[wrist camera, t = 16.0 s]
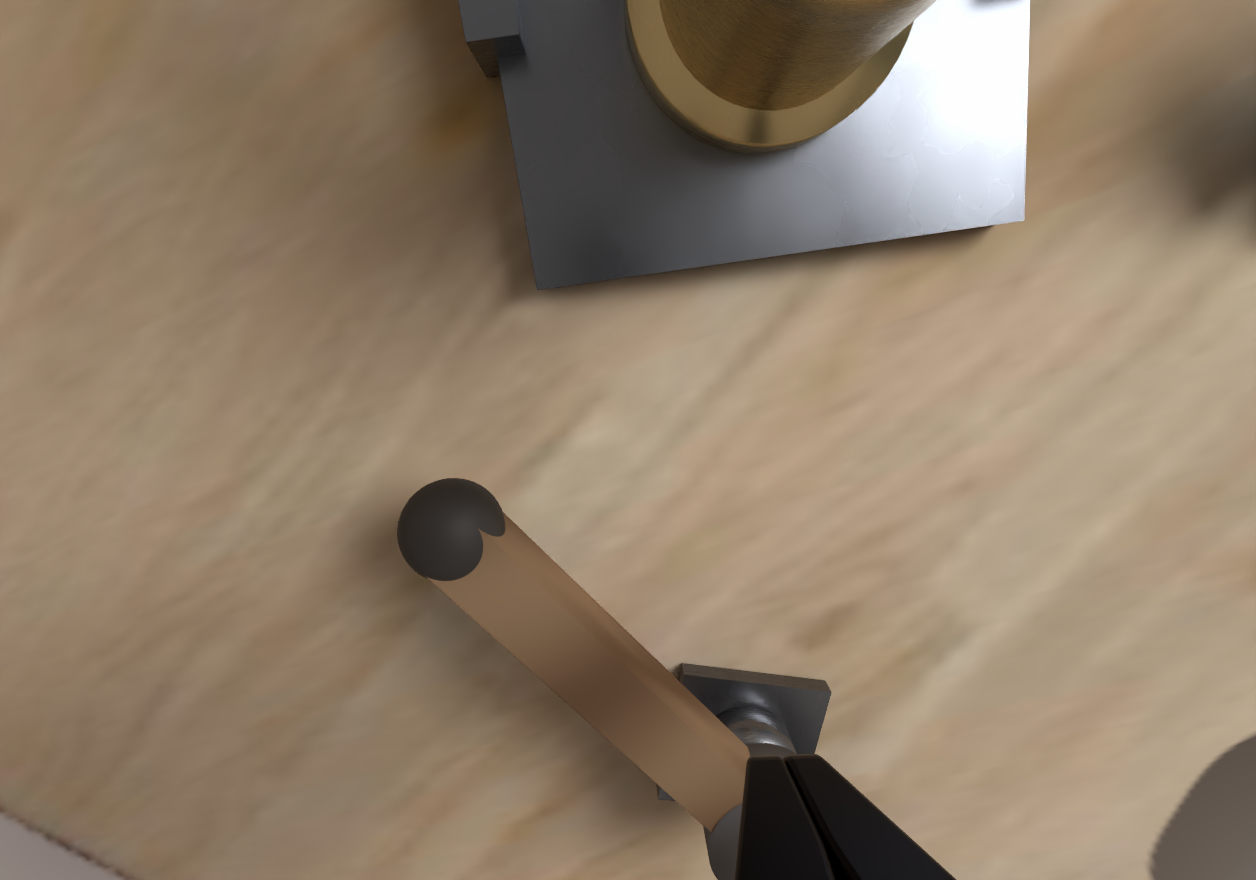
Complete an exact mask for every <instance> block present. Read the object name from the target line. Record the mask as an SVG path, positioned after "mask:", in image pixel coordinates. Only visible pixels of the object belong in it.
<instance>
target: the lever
mask: <svg viewBox="0 0 1256 880" xmlns="http://www.w3.org/2000/svg"><path fill="white" fill-rule="evenodd" d="M397 537H398V544H399V547H400V550H401V553H402V555H403V557H404V559H405V560H406V562H407V563H408V564H409V566H410V567H411V568H412V569H413V570H414V571H416V572H417V573H418V574H420V575H421V576H423V577H425V578H427V579H429V580H430V581H431V582H432V583H433V584H435V585H436V586H437V587H438V588H439V589H440V590H441V591H442V592H443V593H445V594H446V595H447V596H448V597H449V598H450V599H451V600H452V601H453V602H455V603H456V604H457V605H458V606H459V607H460V608H461V609H462V610H464V611H465V612H466V613H467V614H468V615H469V616H470V617H471V618H472V619H474V620H475V621H476V622H477V623H478V624H479V625H480V626H481V627H482V628H484V629H485V630H486V631H487V632H488V633H489V634H490V635H491V636H493V637H494V638H495V639H496V640H497V641H498V642H499V643H500V644H501V645H503V646H504V647H505V648H506V649H507V650H508V651H509V652H510V653H511V654H513V655H514V656H515V657H516V658H517V659H518V660H519V661H520V662H522V663H523V664H524V665H525V666H526V667H527V668H528V669H529V670H530V671H532V672H533V673H534V674H535V675H536V676H537V677H538V678H539V679H540V680H542V681H543V682H544V683H545V684H546V685H547V686H548V687H549V688H551V689H552V690H553V691H554V692H555V693H556V694H557V695H558V696H559V697H561V698H562V699H563V700H564V701H565V702H566V703H567V704H568V705H569V706H571V707H572V708H573V709H574V710H575V711H576V712H577V713H578V714H580V715H581V716H582V717H583V718H584V719H585V720H586V721H587V722H588V723H590V724H591V725H592V726H593V727H594V728H595V729H596V730H597V731H599V732H600V733H601V734H602V735H603V736H604V737H605V738H606V739H607V740H609V741H610V742H611V743H612V744H613V745H614V746H615V747H616V748H617V749H619V750H620V751H621V752H622V753H623V754H624V755H625V756H626V757H628V758H629V759H630V760H631V761H632V762H633V763H634V764H635V765H636V766H638V767H639V768H640V769H641V770H642V771H643V772H644V773H645V774H646V775H648V776H649V777H650V778H651V779H652V780H653V781H654V782H655V783H657V784H658V785H659V786H660V787H661V788H662V789H663V790H664V791H665V792H667V793H668V794H669V795H670V796H671V797H672V798H673V799H674V800H675V801H677V802H678V803H679V804H680V805H681V806H682V807H683V808H684V809H686V810H687V811H688V812H689V813H690V814H691V815H692V816H693V817H694V818H696V819H697V820H698V821H699V822H700V823H701V824H702V825H703V827H704V833H705V839H706V844H707V850H708V855H709V861H710V865H711V868H712V871H713V873H714V875H715V876H716V878H717V879H718V880H734V876H735V867H736V857H737V848H738V838H739V829H740V820H741V810H742V801H743V791H744V782H745V773H746V764H747V760H748V758H749V757H751V756H768V755H778V756H780V757H781V758H784V757H785V756H787V755H795V754H796V753H794V752H793V751H791V750H789V749H787V748H785V747H782V746H779V745H775V744H768V743H754V744H747V745H745V744H744V743H743V742H742V741H741V740H740V739H739V738H738V737H737V736H736V735H735V734H734V733H732V732H731V731H730V730H729V729H728V728H727V727H726V726H725V725H724V724H723V723H722V722H721V721H720V720H719V719H718V718H717V717H716V716H715V715H714V714H713V713H712V712H711V711H710V710H709V709H707V708H706V707H705V706H704V705H703V704H702V703H701V702H700V701H699V700H698V699H697V698H696V697H695V696H694V695H693V694H692V693H691V692H690V691H689V690H688V689H687V688H686V687H685V686H684V685H682V684H681V683H680V682H679V681H678V680H677V679H676V678H675V677H674V676H673V675H672V674H671V673H670V672H669V671H668V670H667V669H666V668H665V667H664V666H663V665H662V664H661V663H660V662H659V661H657V660H656V659H655V658H654V657H653V656H652V655H651V654H650V653H649V652H648V651H647V650H646V649H645V648H644V647H643V646H642V645H641V644H640V643H639V642H638V641H637V640H636V639H635V638H634V637H633V636H631V635H630V634H629V633H628V632H627V631H626V630H625V629H624V628H623V627H622V626H621V625H620V624H619V623H618V622H617V621H616V620H615V619H614V618H613V617H612V616H611V615H610V614H609V613H608V612H606V611H605V610H604V609H603V608H602V607H601V606H600V605H599V604H598V603H597V602H596V601H595V600H594V599H593V598H592V597H591V596H590V595H589V594H588V593H587V592H586V591H585V590H584V589H583V588H581V587H580V586H579V585H578V584H577V583H576V582H575V581H574V580H573V579H572V578H571V577H570V576H569V575H568V574H567V573H566V572H565V571H564V570H563V569H562V568H561V567H560V566H559V565H558V564H556V563H555V562H554V561H553V560H552V559H551V558H550V557H549V556H548V555H547V554H546V553H545V552H544V551H543V550H542V549H541V548H540V547H539V546H538V545H537V544H536V543H535V542H534V541H533V540H531V539H530V538H529V537H528V536H527V535H526V534H525V533H524V532H523V531H522V530H521V529H520V528H519V527H518V526H517V525H516V524H515V523H514V522H513V521H512V520H511V519H510V518H509V517H508V516H506V515H505V514H504V513H503V512H502V509H501V507H500V505H499V503H498V502H497V500H496V499H495V497H494V496H493V495H492V494H491V493H490V492H489V491H488V490H487V489H485V488H484V487H482V486H481V485H479V484H477V483H475V482H472V481H469V480H465V479H458V478H448V479H442V480H438V481H435V482H432V483H430V484H428V485H426V486H424V487H423V488H421V489H420V490H419V491H417V492H416V493H415V494H414V495H413V496H412V497H411V498H410V499H409V501H408V502H407V504H406V505H405V507H404V508H403V510H402V512H401V516H400V519H399V522H398V530H397Z"/></svg>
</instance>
